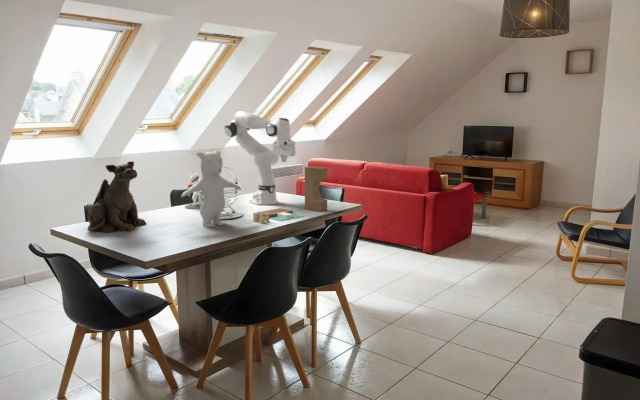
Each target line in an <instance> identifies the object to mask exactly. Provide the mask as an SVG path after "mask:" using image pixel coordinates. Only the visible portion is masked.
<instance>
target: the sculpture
mask: <svg viewBox="0 0 640 400" xmlns="http://www.w3.org/2000/svg"><path fill="white" fill-rule="evenodd" d="M134 166H135V162H134V161H128V162H127V163H124V164H119V165H115V164H107V165H105V169H106V170H107V171H108V172H109V173H111V174H112V173H113V174H114V177H113V179H112V180H111V182H110V184H109V181H108V179H104V178H103V181H102V183H101V185H100V188H99V190H98V191H97V194H96V196H95V199H94V201H93V203H92V206H91V207H90V208H89V211H88V216H87V218H88V219H87V220H88V224H89V225H87V226H88V227H87V229H88V230H89V231H93V232H104V233H113V232H116V231H118V232H126V231H127V232H128V231H129V232H132V231H134V230H135V229H136V227H142V226H145V225H147V222H146V221H145V220H144V219H142V218H140V217H139V214H138V207H137V204H136V202H135V200H134V196H133V194H132V192H130V184H131V181H132V180H133V179H136V178H137V177H138V172H137V170H136V169H134Z"/></svg>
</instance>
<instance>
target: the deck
mask: <svg viewBox="0 0 640 400" xmlns="http://www.w3.org/2000/svg"><path fill="white" fill-rule="evenodd" d="M258 212H259V211H256V212H255V213H258ZM260 212H263V213H267V214H269V218H271V217H277V213H282V212H286V213H290V214H294V211H293V210H290V209H287V208H274V209H267V210H262V211H260Z"/></svg>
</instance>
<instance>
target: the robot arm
mask: <svg viewBox="0 0 640 400" xmlns="http://www.w3.org/2000/svg"><path fill="white" fill-rule="evenodd" d="M260 129H264V130H265V132H266V134H267V136H269V137H271V138H273V137H277V138H276V139H277V141H275V142H274V143H273V149H272V150H271V149H270V148H269V147H266V146H265V145H263V144H262V143H260V142H259V140H257V139H255V138H254V136H252V135H251V134H249V132H248V131H250V130H260ZM224 132H225V134H226V135H227V136H229V137H230V138H235V141H236V142H237V144H239V146H240V147H241V148H242V149H244V151H246V152H247V153H248V154H249V155H250V156H253V163H254V165H255V166H256V168H257V171H258V175H259V177H258V178H259V185H257V187H258V188H257V190H256V191H255V192H254V193H253V194H252V199H251V200H249V202H250V203H252V204H255V205H259V206H261V205H262V206H264V205H265V206H269V205H275V204H277V203H278V199H277V192H276V191H275V190H276V185H275V173H274V172H273V170H272V166H274V165H276V164H277V163H278V162H279V160H280V159H281V163H287V159H288V157H294V156H296V146H295V145H296V142H295V141H294V140H292V139H291V136H290V134H291V125H290V120H289V119H288V118H286V117H278V118H277V119H276V120H275V121H273V120H270V119H266V118H264V117H261V116H259V115H256V114H255V113H251V112H248V111H243V110H240V111H239V110H238V111H237V112H236V113H235V114H234V118H233V119H232V120H231V121H230V122H228V123H226V125H224ZM279 156H280V158H279Z"/></svg>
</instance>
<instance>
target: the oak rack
mask: <svg viewBox="0 0 640 400" xmlns="http://www.w3.org/2000/svg"><path fill="white" fill-rule="evenodd" d="M257 212H258V213H255V212H252V218H253V219H252V222H253V223H258V224H260V225H262V224H263V225H264V224H268V223H271V221H270V219H269V214H267V213H263V212H261V211H257Z"/></svg>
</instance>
